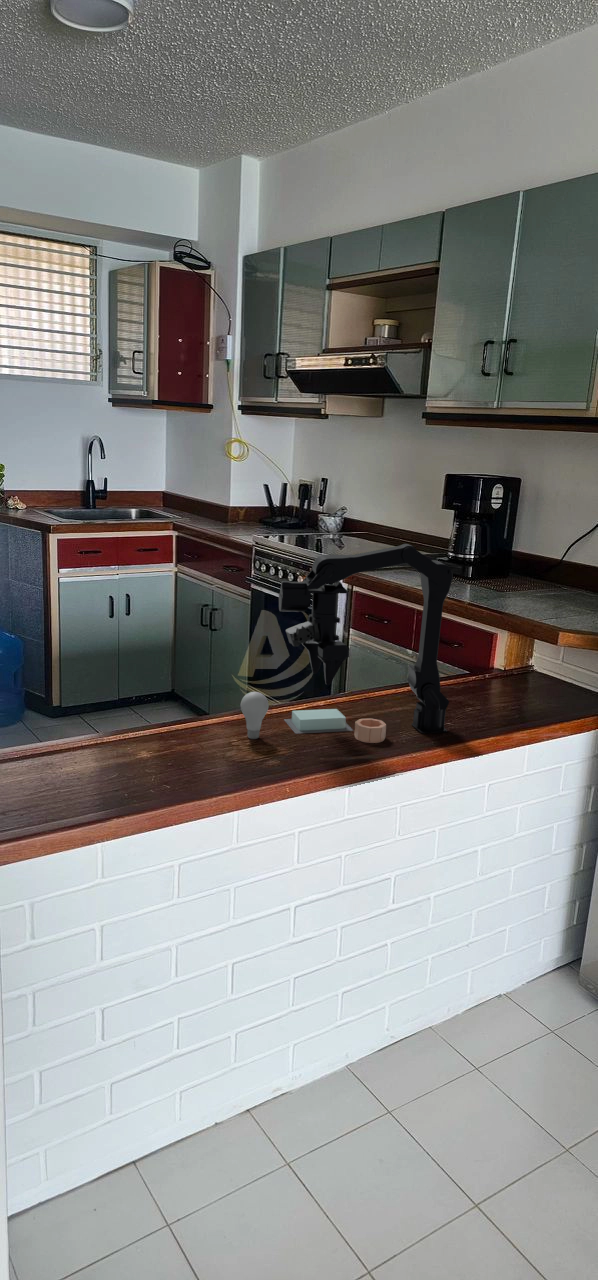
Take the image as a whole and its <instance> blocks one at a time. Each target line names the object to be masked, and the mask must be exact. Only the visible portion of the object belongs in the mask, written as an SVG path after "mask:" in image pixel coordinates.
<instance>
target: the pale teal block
mask: <svg viewBox="0 0 598 1280" xmlns="http://www.w3.org/2000/svg"><path fill="white" fill-rule="evenodd" d="M291 719H292V722H293V723H294V725H295V726H296V727H297V728H298V729H299V731H303V730H323V729H343V728H345V723H347V722H346V720H347V718H346V716H345V715H344V714H343V713H342V712H341V711H339V709H338V708H325V709H304V710H303V709H301V710H292V711H291Z"/></svg>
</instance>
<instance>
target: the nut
mask: <svg viewBox="0 0 598 1280" xmlns="http://www.w3.org/2000/svg"><path fill="white" fill-rule="evenodd" d="M353 732H354V735H353V736H354V738H355V739H356V740H358V741H360V742H362V743H368V744H369V743H370V744H374V743H375V744H377V743H381V742H384V741H385V739H386V732H387V724H386V723H385V722H384V721H383V720H381V719H376V718H360V719H358V720H356V721H355V722H354V731H353Z"/></svg>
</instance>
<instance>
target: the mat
mask: <svg viewBox="0 0 598 1280" xmlns="http://www.w3.org/2000/svg"><path fill="white" fill-rule="evenodd" d="M283 722H285V723H286V724H287V725H288V726H289V728H290V729H291V730H292V731H293V733H294V734H300V735H301V734H314V733H315V734H317V733H318V734H319V733H333V732H334V733H337V732H352V731H353V732H355V729H353V727H351V726H350V725H349V724H348V723H347V722H346V723H345V728H343V729H323V730H303V731H299V729H298V728H297V727H296V726H295V725H294V723H293V722H292V718H284V719H283Z"/></svg>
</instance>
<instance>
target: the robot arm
mask: <svg viewBox="0 0 598 1280" xmlns="http://www.w3.org/2000/svg"><path fill="white" fill-rule="evenodd" d="M402 564H403V565H404V564H406V565H408V566H410V567H411V568H412V569H414V570H416V572H418V573H419V574H420V585H421V590H422V591H421V592H422V597H423V604H422V605H423V606H422V616H421V627H420V637H419V646H418V647H419V648H418V655H417V660H416V662H415V663H414V664H413V665H412V664H409V665H408V677H407V678H406V681H407V683H408V684H409V687H410V690H411V691H412V692H413V693H414V694H415V695H416V699H418V702H416V707H415V708H414V709H413V720H412V722H411V726H412V727H413V728H415V729H416V730H417V731H419V732H420V734H441V733H447V732H448V730H447V728H445V723H446V712H447V711H446V710H447V709H448V705H449V704H450V700H449V699H448V698H447V697H446V696H445V695H444V694H443V693H442V692H441V679H440V678H441V677H440V671H439V668H438V654H439V644H440V636H441V626H442V618H443V608H444V602H445V600H446V599H447V597H448V596H449V595H448V594H449V592H450V589H451V586H452V582H453V579H454V573H453V570H452V569H451V568H450V567H449V565H447V564H445V563H442V562H441V561H438V560H436V559H430V558H429V557H427V556H426V555H425V554H423V553H421V552H420V551H419V550H417V548H416V547H414V546H413V545H411V544H408V543H403V544H401V545H397V546H392V547H387V548H381V549H376V550H372V551H371V550H370V551H366V552H362V553H356V554H322V555H319V556H317V557H316V558H315V560H314V561H313V563H312V567H311V568H312V569H311V570H310V571H309V573H308V574H307V575H306V576H305V578H304V579H303V581H289V580H282V581H281V582H280V583H281V584H280V588H279V593H278V610H279V612H290V613H291V612H296V613H299V612H301V613H304V612H306V610H308V609H309V608H310V607H312V608H311V614H308V616H307V621H305V622H302V623H301V622H300V623H298V624H295V625H293V626H291V627H288V628H286V629H285V633H286V637H287V639H288V640H287V641H288V642H289V644H290V645H292V646H293V647H299V646H301V645H302V646H303V647H304V648H305V649H306V651H307V654H308V658H309V662H310V663H309V664H310V669H311V671H312V674H318V672H319V670H320V668H321V665H322V663H323V674H324V675H323V677H324V683H325V685H326V686H327V685H329V686H330V685H331V684H332V682H333V680H334V679H335V676H336V675H337V673H338V671H339V670H340V667H341V666H342V665H343V663H344V661H346V660H347V658H350V652H351V651H350V650H351V649H350V648H349V646H348V645H346V643H344V642H343V641H341V640H339V639H340V636H339V635H338V634H337V628H338V627H337V625H338V624H339V623H340V622H341V618H340V617H339V616H338V609H339V607H338V606H339V604H338V603H339V594H348V589H346V588H345V587H344V585H343V584H342V582H341V581H343V580H346V579H347V578H349V577H351V576H353V575H355V574H358V573H359V574H360V573H363V572H369V571H373V570H380V569H383V568H390V567H393V566H400V565H402ZM311 594H312V595H311ZM311 599H312V600H311ZM311 602H312V603H311ZM311 604H312V605H311ZM337 623H338V624H337Z"/></svg>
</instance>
